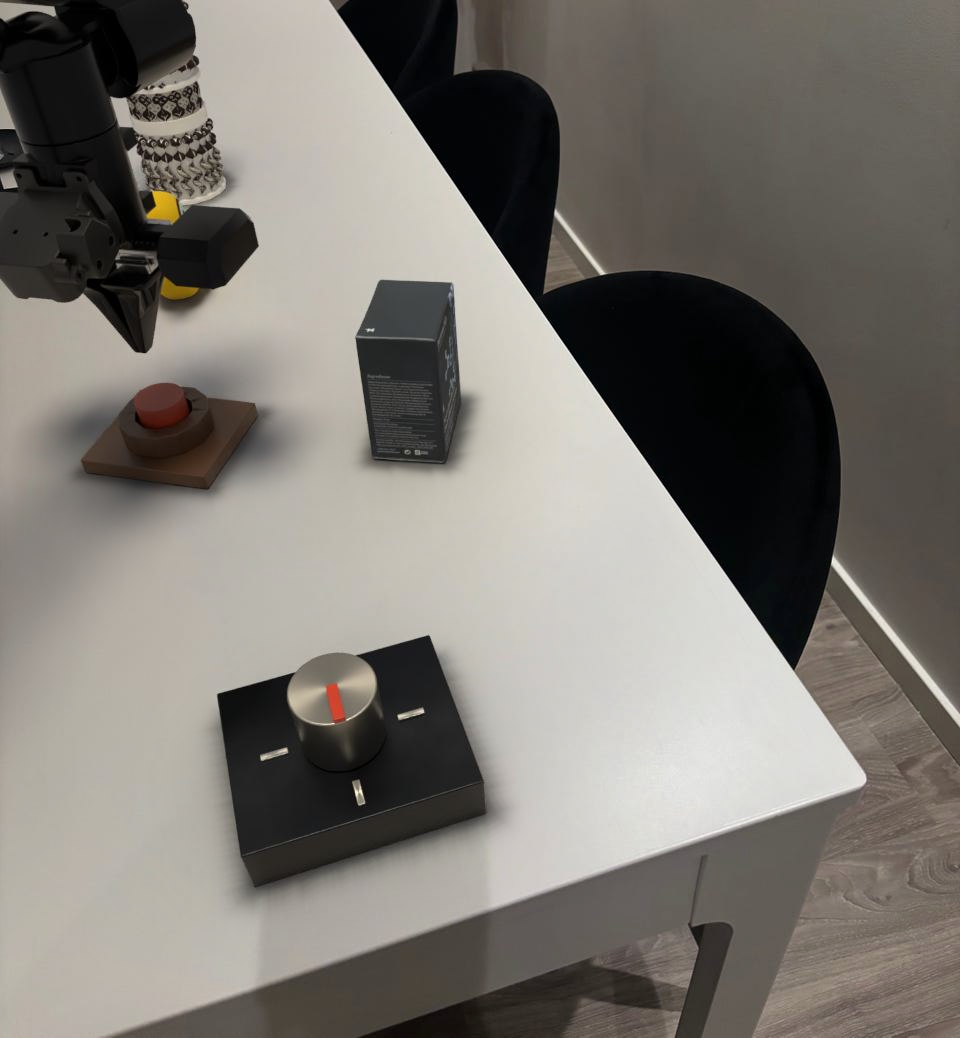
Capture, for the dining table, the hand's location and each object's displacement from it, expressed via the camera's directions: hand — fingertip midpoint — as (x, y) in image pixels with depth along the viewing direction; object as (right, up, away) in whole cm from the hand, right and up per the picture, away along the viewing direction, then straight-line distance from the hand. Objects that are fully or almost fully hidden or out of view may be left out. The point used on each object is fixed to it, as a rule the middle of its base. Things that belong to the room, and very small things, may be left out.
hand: (144, 350), depth 68 cm
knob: (+17, -23, -18) cm, 34 cm away
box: (+19, -5, +5) cm, 20 cm away
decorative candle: (-9, +25, +39) cm, 47 cm away
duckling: (-4, +9, +23) cm, 25 cm away
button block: (0, -6, +6) cm, 8 cm away
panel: (+17, -25, -16) cm, 34 cm away
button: (0, -4, +4) cm, 6 cm away
